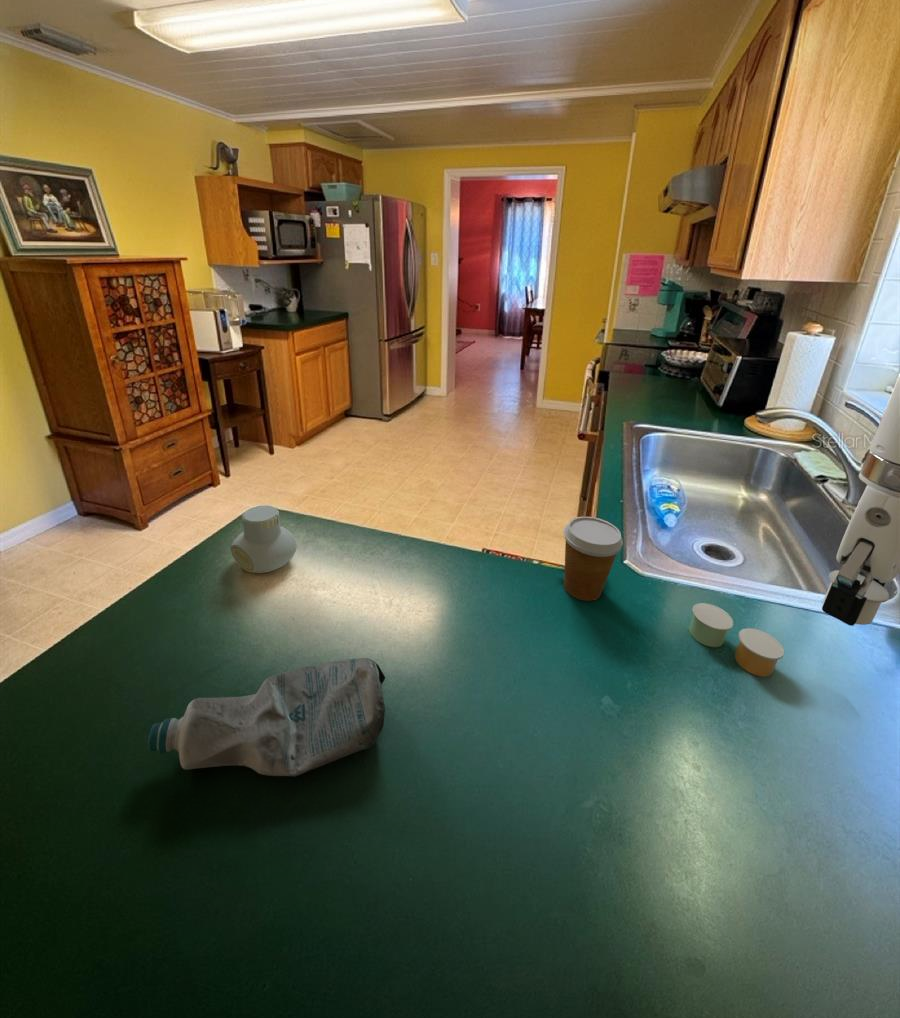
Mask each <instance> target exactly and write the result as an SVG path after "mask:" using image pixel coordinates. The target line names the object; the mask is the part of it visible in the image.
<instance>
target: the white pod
mask: <svg viewBox="0 0 900 1018" xmlns="http://www.w3.org/2000/svg"><path fill="white" fill-rule="evenodd" d="M839 571H840V569H837V570H835V569H834V570H832V571H831V572H829V575H828V580H829V582H830V583H829V586H828V588H827V590H826V593H825V595H824V598H823V601H822V603H823V604H824V602H825V600H826V597H827V595H828V593H829V590H830V588H831V585H832V583H833V582H834V580H835V579H836V577H837V575H838V573H839ZM864 579H865V577H864V576H862V575H860V574H858V577H857V580H859V581H860V584H862V582H863V580H864ZM864 597H866V598H867V600H866V602H865V604H864V606H863V608H862V611H861V613H860V615H859V617H858V619H857V621H856V623H855V624H854V625H861V626H862V625H863V626H867V625H871V623H873V621H874V619H875V616H876V614H877V613H878V610H879V608H880V606H881V604H882V603H885V602H887V601H889V599H890V593H889V592H888V589H886V588H885V586H884V587H883V586H881V585H880V584H879V583H877V582H875V581H874V580H873V581H872V582H871V584H870V586H869V588H868V590H867V592H866V594H865V595H864Z"/></svg>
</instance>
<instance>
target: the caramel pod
mask: <svg viewBox="0 0 900 1018" xmlns="http://www.w3.org/2000/svg"><path fill="white" fill-rule="evenodd" d="M738 640H739V642H738V645H737V648H736V650H735V653H734V658H735V661H736V662H737V664H738V665H739V666H740V667H741V669H743V670H745V671H746V672H748V673H750V674H752V675H754V676H757V677H762V678H763V677H765V678H766V677H769V676H771V675H772V674H773V672H774V670H775V667H776V665H777V662H778V661H779V660H780V659H782V658H783V657H784V655H785V649H784V647H783V645H782V643H780V642H779V640H778V639H776V638H775V637H774V636H772V635H771V634H768V633H767V632H765V631H763V630H761V629H757V628H751V627H748V628H743V629H741V630H740V631H739V633H738Z"/></svg>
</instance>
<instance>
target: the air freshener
mask: <svg viewBox="0 0 900 1018" xmlns="http://www.w3.org/2000/svg"><path fill="white" fill-rule="evenodd" d="M241 518H242V528H243V531H242V532H241V533H239V534H238V536H237V537H235V539H233V541H232V543H231V546H230V553H231V555H232V557H233V559H234V561H235V563H237V565H239V567H241V569H243V570H244V571H245V572H248V573H250V574H251V573H253V574H263V573H269V572H273V571H276V570H279V569H280V568H282V567H283V566H285V565H286V564H288V563H290V561H291V560H292V558H293V557H294V555H295V554H296V551H297V548H298V544H297V541H296V539H295V537H294V535H293V534H292V533H291V532H290V531H289V530H288V529H287V528H285V527H284V526H282V525H281V518H280V511H279V509H278V508H276V507H275V506H272V505H265V504H264V505H257V506H253V507H251V508H249V509H247V510H245V511H244V513H243V514H242V516H241Z"/></svg>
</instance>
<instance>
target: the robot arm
mask: <svg viewBox="0 0 900 1018" xmlns="http://www.w3.org/2000/svg"><path fill="white" fill-rule="evenodd" d="M858 478H859V480H860V481H861V482H862V483H864V484H865V485H866V486H865V488H864V491H863V492H862V495H861V497H860V499H859V500H858V502H857V505H856V507H855V509H854V512H853V514H852V516H851V518H850V521H849V522H848V525H847V527H846V530H845V532H844V533H843V534H844V535H843V537H842V539H841V542H840V545H839V547H838V549H837V552H836V556H835V559H836V562H837V563H838V564H839V565H841V567H840V569H839V570H840V571H839V573H838V575H837V577H836V579H835V580H834V582H833V583H832V585H831V588H830V590H829V593H828V595H827V597H826V600H825V602H824V603H823V605H822V606H821V610H822V611H823V613H825V614H827V615H829V616H831V617H833V618H835V619H836V620H838V621H840V622H842V623H844V624H846V625H848V626H850V627H853V626H855V625H856V624H855V623H856V621H857V619H858V617H859V615H860V613H861V611H862V608H863V606H864V604H865V602H866V600H867V598H866V597H864V595H865V594H866V592H867V590H868V588H869V586H870V584H871V582H872V581H873V580H874V581H875V582H877V583H879V584H880V585H881V586H883V587H884V588H885V586H886V583H890V582H892V581H893V580H894V579H896V578H897V577H898V576H899V575H900V374H899V375H898V377H897V380H896V382H895V384H894V387H893V389H892V392H891V394H890V397H889V399H888V401H887V403H886V406H885V409H884V411H883V414H882V416H881V419H880V422H879V424H878V426H877V429H876V431H875V433H874V436H873V439H872V441H871V444H870V447H869V449H868V451H867V453H866V456H865V459H864V461H863V463H862V465H861V469H860V471H859V473H858ZM858 574H860V575H862V576H864V577H865V579H864V580H863V582H862V584H860V581H859V580H857V577H858Z"/></svg>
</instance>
